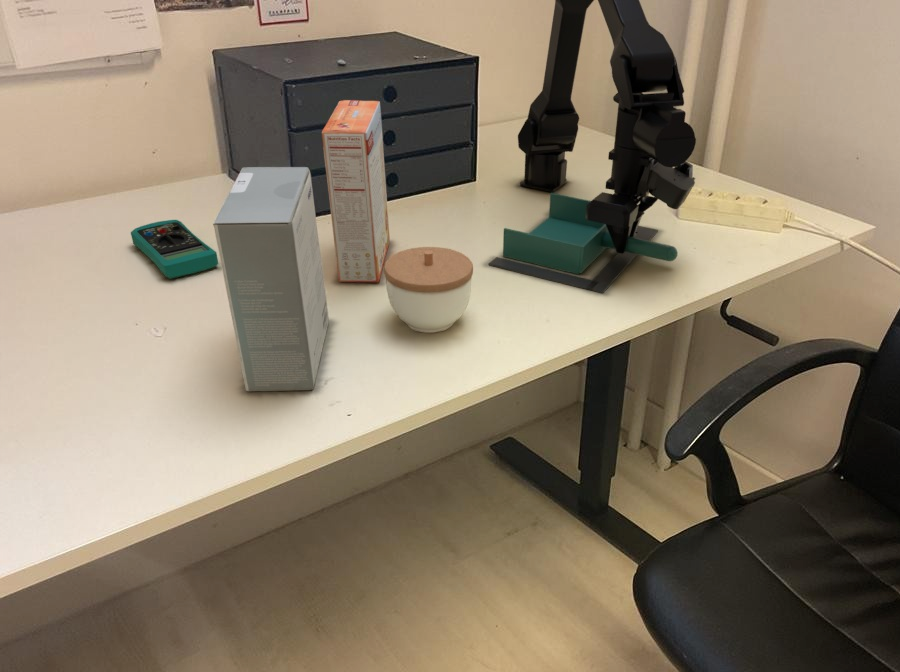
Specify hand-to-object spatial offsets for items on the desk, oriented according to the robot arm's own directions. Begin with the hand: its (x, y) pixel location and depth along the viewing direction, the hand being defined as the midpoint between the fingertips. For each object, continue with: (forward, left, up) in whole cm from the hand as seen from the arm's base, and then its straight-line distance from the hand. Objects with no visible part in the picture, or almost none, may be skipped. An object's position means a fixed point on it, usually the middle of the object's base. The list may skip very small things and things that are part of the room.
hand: (623, 249), depth 118 cm
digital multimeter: (-56, -32, -2) cm, 64 cm away
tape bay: (-7, 0, -1) cm, 7 cm away
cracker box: (-32, -20, -2) cm, 38 cm away
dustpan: (-4, 0, -1) cm, 4 cm away
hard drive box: (-25, -45, -2) cm, 51 cm away
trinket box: (-15, -30, -2) cm, 33 cm away
